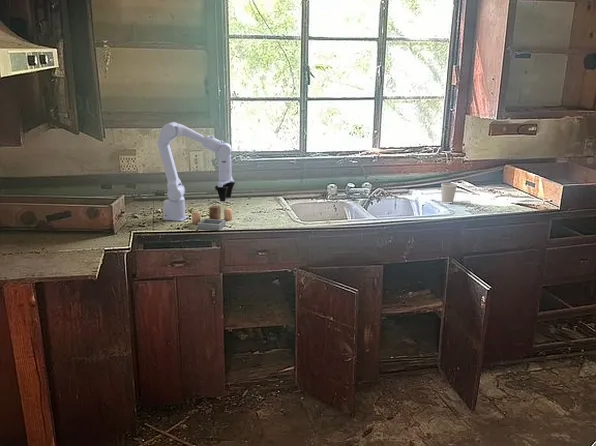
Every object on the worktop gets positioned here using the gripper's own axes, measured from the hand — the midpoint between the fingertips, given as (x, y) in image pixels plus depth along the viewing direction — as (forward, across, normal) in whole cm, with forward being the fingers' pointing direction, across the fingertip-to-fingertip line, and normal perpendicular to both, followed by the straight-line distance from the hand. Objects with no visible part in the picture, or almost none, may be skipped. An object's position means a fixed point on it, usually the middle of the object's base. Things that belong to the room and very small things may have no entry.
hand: (225, 199), depth 262 cm
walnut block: (+10, 0, +5) cm, 11 cm away
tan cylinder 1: (+10, -8, +11) cm, 17 cm away
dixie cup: (+10, +64, -102) cm, 120 cm away
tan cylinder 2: (+10, +1, -1) cm, 10 cm away
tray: (+10, -12, +2) cm, 16 cm away
